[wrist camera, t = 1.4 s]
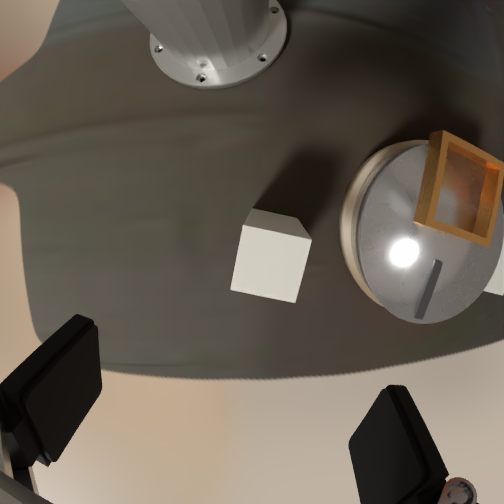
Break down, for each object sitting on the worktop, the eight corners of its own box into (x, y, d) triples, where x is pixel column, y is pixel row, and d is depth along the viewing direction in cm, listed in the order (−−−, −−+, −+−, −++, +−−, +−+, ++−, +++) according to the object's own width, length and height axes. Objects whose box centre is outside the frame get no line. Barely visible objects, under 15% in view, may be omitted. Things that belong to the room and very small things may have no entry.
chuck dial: (458, 317, 25) (482, 340, 20) (329, 295, 25) (342, 322, 20) (497, 177, 21) (530, 180, 16) (371, 121, 21) (395, 109, 16)
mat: (493, 209, 24) (495, 210, 23) (521, 223, 24) (523, 224, 23) (471, 287, 26) (473, 288, 26) (500, 294, 26) (502, 295, 26)
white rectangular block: (252, 208, 26) (243, 224, 17) (297, 218, 26) (311, 239, 17) (243, 252, 27) (230, 289, 18) (287, 261, 27) (294, 302, 18)
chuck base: (358, 118, 23) (365, 114, 21) (488, 173, 23) (499, 174, 21) (318, 289, 27) (322, 298, 25) (449, 313, 27) (457, 321, 25)
